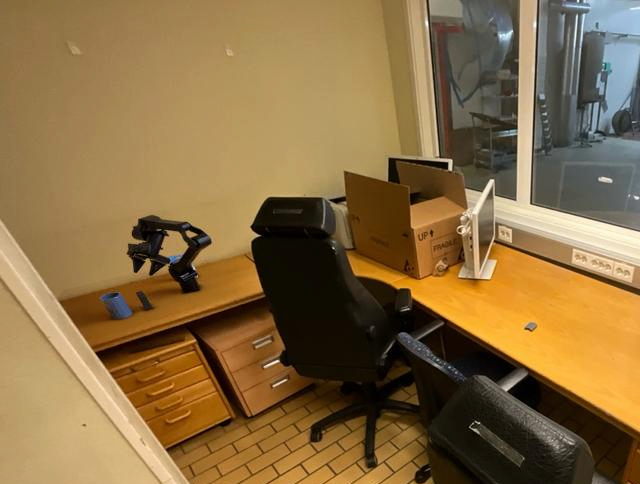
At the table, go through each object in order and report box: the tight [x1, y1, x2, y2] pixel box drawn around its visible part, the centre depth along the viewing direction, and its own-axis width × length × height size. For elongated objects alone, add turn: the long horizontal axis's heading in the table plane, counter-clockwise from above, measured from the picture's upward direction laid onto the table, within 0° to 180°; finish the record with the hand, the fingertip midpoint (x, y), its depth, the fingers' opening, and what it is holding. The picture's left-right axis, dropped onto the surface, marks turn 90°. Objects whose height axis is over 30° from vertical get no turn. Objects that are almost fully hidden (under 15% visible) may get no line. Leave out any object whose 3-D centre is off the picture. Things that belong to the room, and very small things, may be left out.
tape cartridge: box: [167, 253, 199, 279], centre depth 203 cm, size 9×4×12 cm, turn 119°
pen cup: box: [99, 291, 133, 320], centre depth 173 cm, size 7×7×10 cm
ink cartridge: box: [135, 290, 154, 311], centre depth 179 cm, size 5×2×8 cm, turn 52°
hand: (142, 274), depth 179 cm, fingers open, 9 cm apart
